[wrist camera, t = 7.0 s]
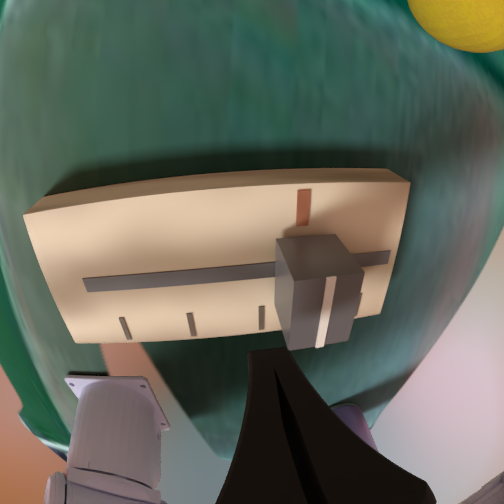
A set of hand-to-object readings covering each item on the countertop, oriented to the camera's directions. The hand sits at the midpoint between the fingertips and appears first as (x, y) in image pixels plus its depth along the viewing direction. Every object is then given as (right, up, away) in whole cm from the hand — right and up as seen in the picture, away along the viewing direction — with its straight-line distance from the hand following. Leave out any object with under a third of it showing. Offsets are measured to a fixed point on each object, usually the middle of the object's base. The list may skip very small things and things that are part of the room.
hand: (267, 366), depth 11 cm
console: (-2, +4, +7) cm, 9 cm away
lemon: (+9, +18, +1) cm, 21 cm away
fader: (+2, +3, +5) cm, 6 cm away
